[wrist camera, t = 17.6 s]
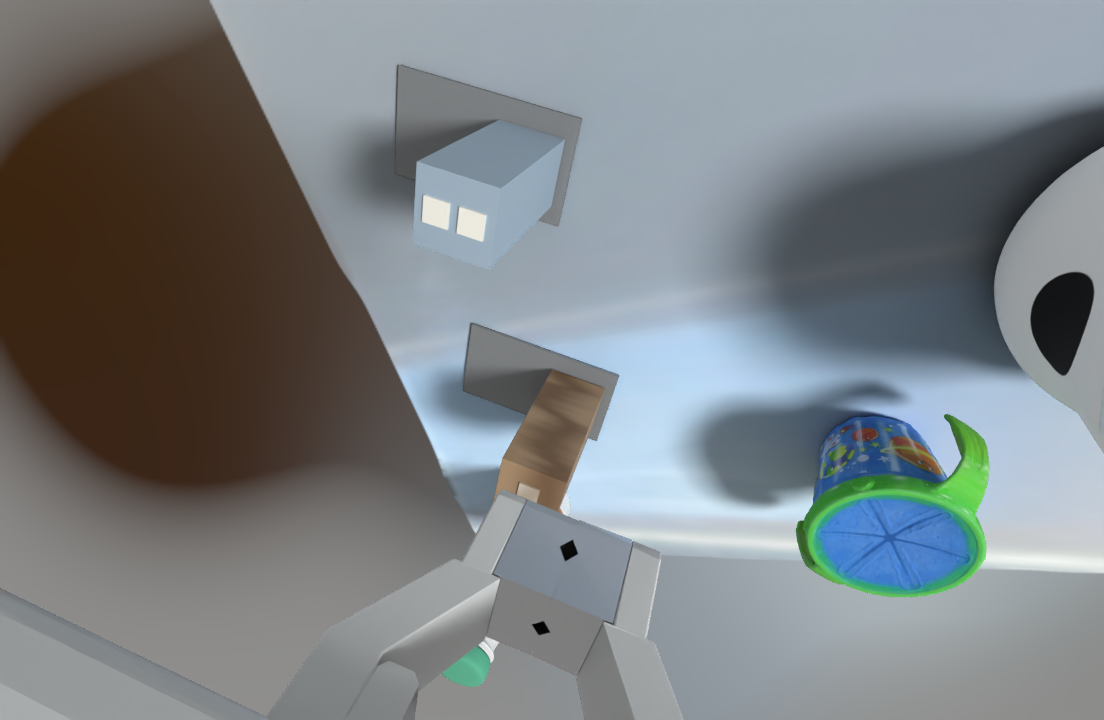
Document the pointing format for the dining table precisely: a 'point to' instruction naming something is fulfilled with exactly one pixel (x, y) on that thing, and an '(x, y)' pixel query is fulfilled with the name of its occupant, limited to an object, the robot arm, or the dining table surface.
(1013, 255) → the milk container
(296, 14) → the dining table surface
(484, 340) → the grey rectangular plate
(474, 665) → the milk bottle
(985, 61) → the dining table surface
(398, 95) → the grey flat block
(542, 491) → the wooden box
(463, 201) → the rectangular block
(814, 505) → the snack cup
